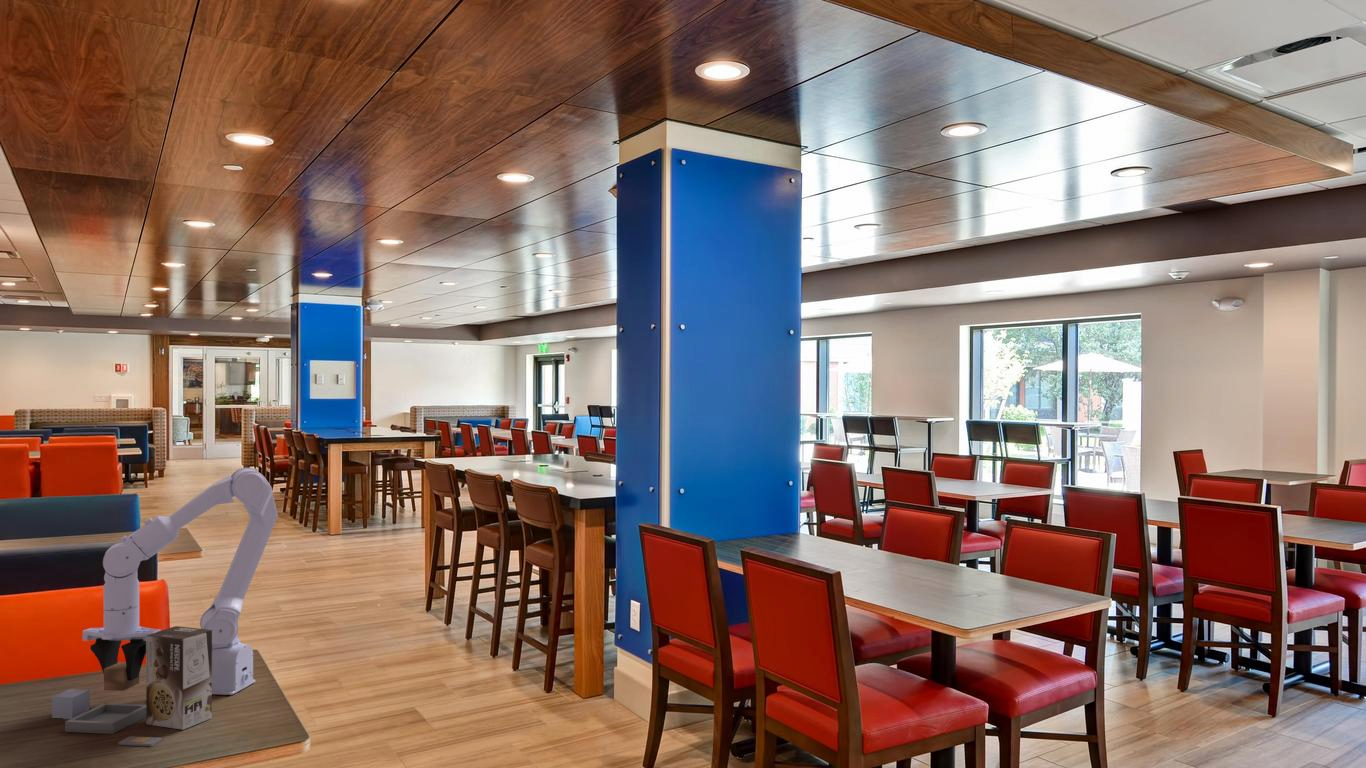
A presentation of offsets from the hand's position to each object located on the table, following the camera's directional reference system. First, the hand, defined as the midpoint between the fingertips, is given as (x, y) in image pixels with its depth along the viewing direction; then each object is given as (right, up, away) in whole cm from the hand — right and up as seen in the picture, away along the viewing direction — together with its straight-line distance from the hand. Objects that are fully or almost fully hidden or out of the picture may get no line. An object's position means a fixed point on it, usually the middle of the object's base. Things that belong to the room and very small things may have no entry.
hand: (121, 678), depth 162 cm
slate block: (-6, -5, -6) cm, 9 cm away
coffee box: (+16, -5, -9) cm, 19 cm away
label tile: (+15, -5, -18) cm, 24 cm away
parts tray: (+4, -5, -10) cm, 11 cm away
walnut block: (0, -2, 0) cm, 2 cm away
